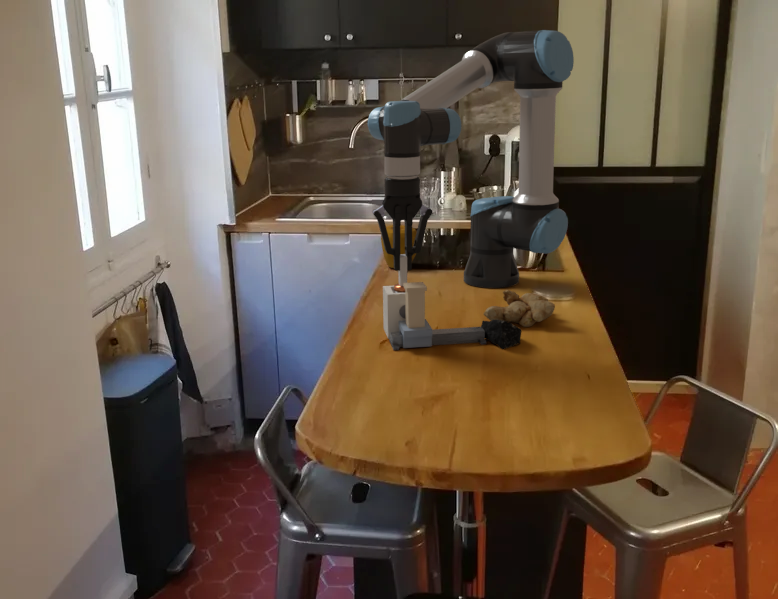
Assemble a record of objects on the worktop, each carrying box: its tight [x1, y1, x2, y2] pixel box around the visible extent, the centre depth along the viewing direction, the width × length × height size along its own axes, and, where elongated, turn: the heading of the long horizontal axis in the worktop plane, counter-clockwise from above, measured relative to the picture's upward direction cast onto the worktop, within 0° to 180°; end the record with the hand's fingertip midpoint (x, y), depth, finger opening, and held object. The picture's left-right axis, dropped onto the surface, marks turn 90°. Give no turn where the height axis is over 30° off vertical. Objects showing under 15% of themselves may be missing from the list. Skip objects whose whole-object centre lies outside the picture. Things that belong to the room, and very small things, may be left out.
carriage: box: [399, 281, 433, 349], centre depth 166 cm, size 6×7×13 cm
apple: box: [380, 224, 417, 269], centre depth 232 cm, size 11×11×13 cm
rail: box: [388, 326, 487, 351], centre depth 169 cm, size 20×6×2 cm, turn 99°
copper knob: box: [393, 283, 405, 293], centre depth 173 cm, size 4×4×6 cm
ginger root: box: [483, 289, 556, 328], centre depth 182 cm, size 16×16×8 cm
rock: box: [480, 319, 522, 350], centre depth 169 cm, size 7×10×6 cm
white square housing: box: [382, 285, 406, 339], centre depth 174 cm, size 8×7×10 cm
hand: (402, 284), depth 172 cm, fingers closed
